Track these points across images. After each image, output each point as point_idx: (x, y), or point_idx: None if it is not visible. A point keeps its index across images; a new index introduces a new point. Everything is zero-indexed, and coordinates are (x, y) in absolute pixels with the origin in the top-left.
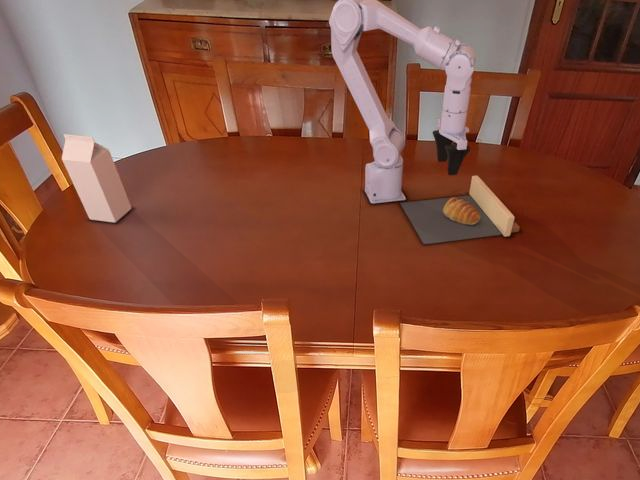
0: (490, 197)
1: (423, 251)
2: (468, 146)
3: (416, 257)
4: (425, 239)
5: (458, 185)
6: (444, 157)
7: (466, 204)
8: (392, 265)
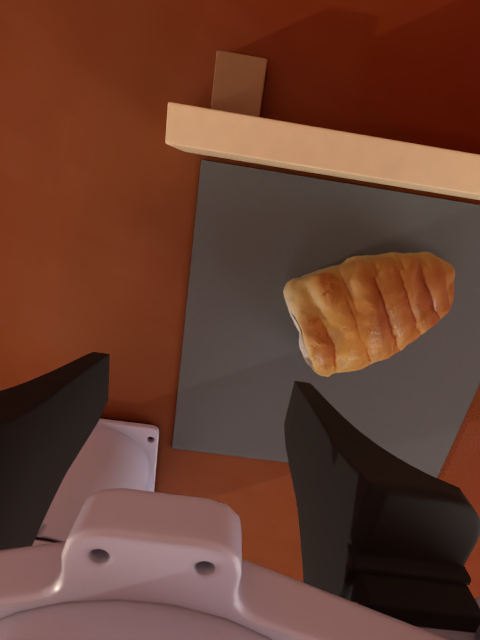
0: (442, 189)
1: (463, 493)
2: (424, 505)
3: None
4: (416, 467)
5: (82, 155)
6: (97, 383)
7: (383, 308)
8: (468, 570)
